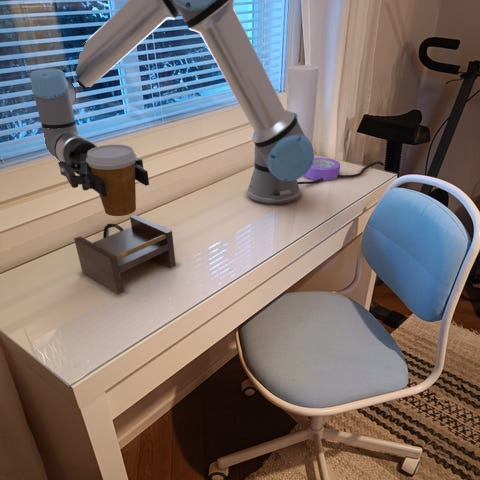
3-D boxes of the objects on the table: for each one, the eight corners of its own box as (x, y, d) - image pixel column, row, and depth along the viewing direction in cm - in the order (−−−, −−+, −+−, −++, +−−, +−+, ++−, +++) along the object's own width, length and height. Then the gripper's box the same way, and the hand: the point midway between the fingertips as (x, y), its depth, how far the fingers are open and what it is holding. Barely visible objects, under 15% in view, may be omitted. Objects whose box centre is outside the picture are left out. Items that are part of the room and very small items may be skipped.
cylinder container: (309, 166, 156) (317, 68, 138) (282, 165, 158) (287, 67, 140) (311, 158, 163) (319, 63, 145) (285, 156, 165) (290, 63, 147)
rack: (140, 247, 110) (134, 214, 105) (175, 265, 103) (172, 231, 98) (82, 273, 100) (73, 238, 95) (117, 294, 93) (110, 258, 88)
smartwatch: (110, 239, 114) (106, 220, 110) (127, 242, 112) (124, 223, 109) (100, 246, 110) (96, 227, 107) (118, 249, 109) (115, 230, 106)
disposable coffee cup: (101, 202, 97) (89, 144, 90) (145, 200, 98) (138, 143, 90) (93, 220, 89) (79, 159, 82) (141, 219, 90) (132, 158, 83)
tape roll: (345, 173, 150) (346, 161, 148) (327, 183, 143) (329, 171, 141) (314, 166, 156) (315, 155, 154) (296, 176, 149) (297, 164, 146)
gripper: (125, 162, 108) (174, 190, 94) (36, 182, 98) (76, 216, 83) (120, 129, 104) (171, 153, 89) (26, 146, 93) (67, 176, 79)
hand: (125, 183), depth 86 cm, fingers closed on disposable coffee cup, 8 cm apart
